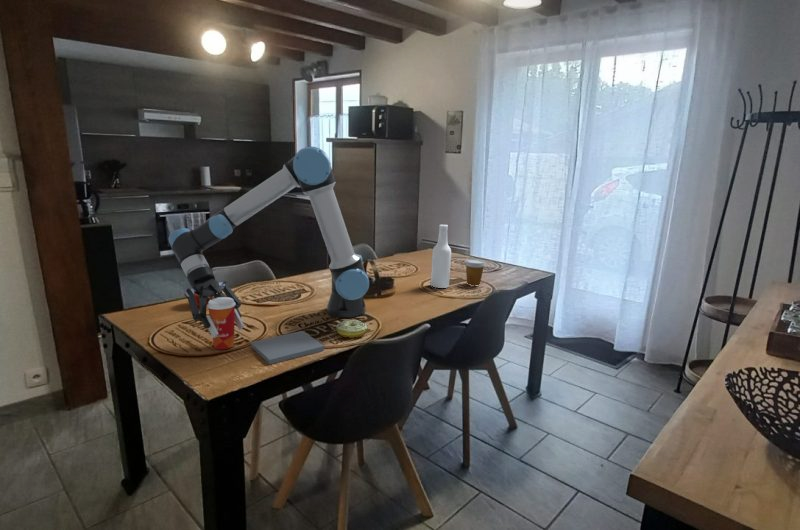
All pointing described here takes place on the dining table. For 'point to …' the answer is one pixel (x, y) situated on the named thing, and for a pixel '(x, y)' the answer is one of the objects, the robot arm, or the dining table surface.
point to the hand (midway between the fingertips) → (229, 331)
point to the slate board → (286, 347)
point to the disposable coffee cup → (474, 271)
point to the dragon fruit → (199, 301)
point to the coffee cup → (222, 321)
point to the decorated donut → (351, 328)
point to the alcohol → (441, 260)
